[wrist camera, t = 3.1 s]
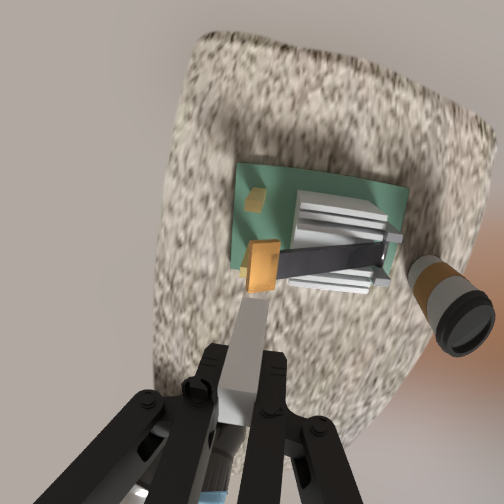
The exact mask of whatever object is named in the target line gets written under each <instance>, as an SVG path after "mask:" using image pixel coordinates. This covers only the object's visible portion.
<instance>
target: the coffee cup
mask: <svg viewBox="0 0 504 504" xmlns="http://www.w3.org/2000/svg"><path fill="white" fill-rule="evenodd" d="M408 283H409V287H410V288H411V290H412V292H413V294H414V297H415V298H416V300H417V302H418V304H419V306H420V308H421V310H422V311H423V313H424V315H425V317H426V319H427V321H428V323H429V325H430V326H431V327H432V329H433V332H434V334H435V336H436V341H437V343H438V345H439V346H440V347H441V348H442V350H443V351H444V352H446V353H449V355H451V356H453V357H462V356H465V355H468V354H470V353H471V352H473V351H474V350H476V349H477V348H478V347H479V346H480V345H481V344H482V343H483V342H484V341H485V340H486V339H487V337H488V335H489V334H490V332H491V330H492V328H493V326H494V322H495V311H494V309H493V305H492V302H491V300H490V299H488V296H487V295H486V294H485V293H484V292H483V291H480V290H478V289H477V288H476V287H475V286H474V285H472V284H471V283H470V282H469V281H468V280H467V279H466V278H465V277H464V276H462V275H461V274H460V273H459V272H457V271H456V270H455V269H453V268H452V267H451V266H449V265H448V264H447V263H445V262H443V261H442V260H441V259H439V258H438V257H436V256H434V255H425V256H422V257H420V258H418V259H417V260H416V261H415V262H414V263H413V264H412V266H411V268H410V270H409V274H408Z"/></svg>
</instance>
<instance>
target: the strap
mask: <svg viewBox="0 0 504 504" xmlns="http://www.w3.org/2000/svg"><path fill="white" fill-rule="evenodd" d="M389 243H390V242H389V241H386V240H385V239H384V238H383V240H382V241H381V242H371V243H359V244H346V245H334V246H321V247H309V248H296V249H284V250H280V245H281V242H280V241H279V240H278V239H266V240H250V241H249V253H248V265H247V277H246V291H247V292H248V293H255V292H262V291H269V290H275V283H276V280H277V279H284V278H292V277H299V276H306V275H313V274H320V273H327V272H334V271H341V270H348V269H354V268H361V267H367V266H373V265H375V266H376V267H378V268H383V265H384V262H385V258H386V254H387V251H388V247H389Z"/></svg>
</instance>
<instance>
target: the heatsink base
mask: <svg viewBox="0 0 504 504" xmlns="http://www.w3.org/2000/svg"><path fill="white" fill-rule="evenodd" d="M408 194H409V189H408V188H406V187H402V186H398V185H393V184H388V183H384V182H379V181H374V180H369V179H363V178H358V177H352V176H347V175H341V174H334V173H328V172H322V171H315V170H308V169H300V168H292V167H284V166H275V165H265V164H255V163H243V162H238V163H237V170H236V184H235V198H234V213H233V229H232V246H231V264H230V268H231V269H238V270H240V276H239V277H243V278H246V277H247V265H248V253H249V241H250V240H266V239H278V240H279V241H280V242H281V245H280V250H284V249H296V248H309V247H321V246H334V245H346V244H359V243H371V242H381V241H382V240H383V238H384V239H385V240H386V241H389V242H390V243H389V247H388V251H387V254H386V258H385V262H384V265H383V268H378V267H376V266H375V265H373V266H367V267H361V268H354V269H348V270H341V271H334V272H327V273H320V274H313V275H306V276H299V277H292V278H289V286H296V287H305V288H314V289H324V290H333V291H343V292H353V293H364V294H368V291H369V288H368V287H370V285H374V286H382V287H389V284H390V281H391V280H390V278H389V272H390V269H391V266H392V262H393V258H394V255H395V251H396V247H397V244H398V243H401V242H402V238H403V234H402V233H401V227H402V223H403V219H404V214H405V209H406V205H407V200H408Z"/></svg>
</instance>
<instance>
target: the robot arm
mask: <svg viewBox="0 0 504 504" xmlns="http://www.w3.org/2000/svg"><path fill="white" fill-rule="evenodd" d="M268 306H269V300H261V299H254V298H246V297H243V298H242V301H241V305H240V309H239V312H238V316H237V319H236V323H235V326H234V330H233V334H232V337H231V341H230V344H229V346H227V345H221V344H215V343H211V344H210V345H209V346H208V347H207V348H206V349H205V350H204V353H203V356H202V358H201V361H200V364H199V366H198V369H197V372H196V374H195V376H192V377H189V378H187V379H186V380H184V382H183V383H182V384H181V386H182V392H183V394H182V395H179V396H171V397H162V396H161V394H160V393H158V392H157V391H154V390H142V391H139V392H138V393H137V394H135V396H133V398H132V399H131V400H130V401H129V402H128V403H127V404H126V405H125V406H124V407H123V408H122V410H121V411H120V412H119V413H118V414H117V415H116V416H115V417H114V418H113V419H112V420H111V422H110V423H109V424H108V425H107V426H106V427H105V428H104V429H103V430H102V431H101V433H99V434H98V435H97V437H96V438H95V439H94V440H93V441H92V442H91V443H90V444H89V445H88V446H87V448H85V449H84V451H83V452H82V453H81V454H80V455H79V456H78V457H77V458H76V459H75V460H74V461H73V462H72V463H71V464H70V465H69V466H68V467H67V469H66V470H65V471H64V472H63V473H62V474H61V475H60V476H59V477H58V478H57V479H56V480H55V481H54V483H52V484H51V485H50V486H49V488H48V489H47V490H46V491H45V492H44V493H43V494H42V495H41V496H40V497H39V498H38V499H37V500H36V501H35V502H34V503H33V504H224V502H225V498H226V495H227V494H228V492H227V490H228V485H229V480H230V474H231V469H232V463H233V458H234V456H235V454H236V453H237V451H238V449H239V448H240V446H241V444H242V443H243V441H244V439H245V435H246V428H245V426H248V427H250V432H249V438H248V443H247V450H246V456H245V462H244V467H243V473H242V479H241V484H240V490H239V495H238V501H237V504H280V496H281V484H282V473H283V461H284V455H286V456H289V457H290V458H291V462H292V466H293V470H294V474H295V479H296V482H297V487H298V491H299V495H300V499H301V503H302V504H363V502H362V499H361V496H360V493H359V490H358V487H357V485H356V482H355V479H354V476H353V474H352V471H351V468H350V466H349V463H348V460H347V458H346V454H345V452H344V449H343V446H342V444H341V441H340V438H339V436H338V433H337V430H336V428H335V425H334V424H333V422H332V421H331V420H330V419H328V418H327V417H324V416H313V417H310V418H308V419H307V418H304V417H301V416H298V415H296V414H294V413H293V412H291V411H290V410H289V409H288V407H287V405H286V401H285V398H286V375H287V359H286V357H285V355H284V353H283V352H275V351H266V350H263V346H264V338H265V330H266V322H267V314H268Z"/></svg>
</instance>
